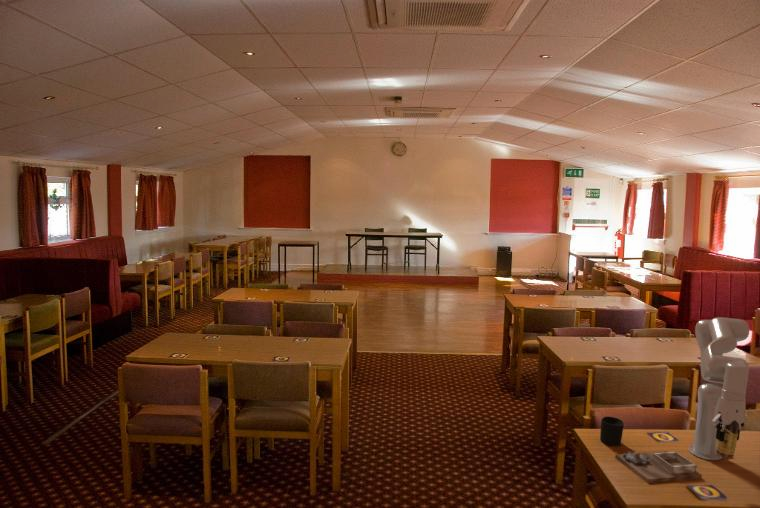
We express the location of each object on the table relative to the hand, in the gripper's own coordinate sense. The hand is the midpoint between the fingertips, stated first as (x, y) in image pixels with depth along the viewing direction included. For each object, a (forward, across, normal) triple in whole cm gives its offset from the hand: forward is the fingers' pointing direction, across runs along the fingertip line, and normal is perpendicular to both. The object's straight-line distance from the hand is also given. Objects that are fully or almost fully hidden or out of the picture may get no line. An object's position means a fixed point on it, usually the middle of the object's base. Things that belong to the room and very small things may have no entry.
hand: (727, 438), depth 215 cm
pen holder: (+20, +20, -40) cm, 50 cm away
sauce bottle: (+7, 0, 0) cm, 7 cm away
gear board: (+20, +15, -16) cm, 30 cm away
